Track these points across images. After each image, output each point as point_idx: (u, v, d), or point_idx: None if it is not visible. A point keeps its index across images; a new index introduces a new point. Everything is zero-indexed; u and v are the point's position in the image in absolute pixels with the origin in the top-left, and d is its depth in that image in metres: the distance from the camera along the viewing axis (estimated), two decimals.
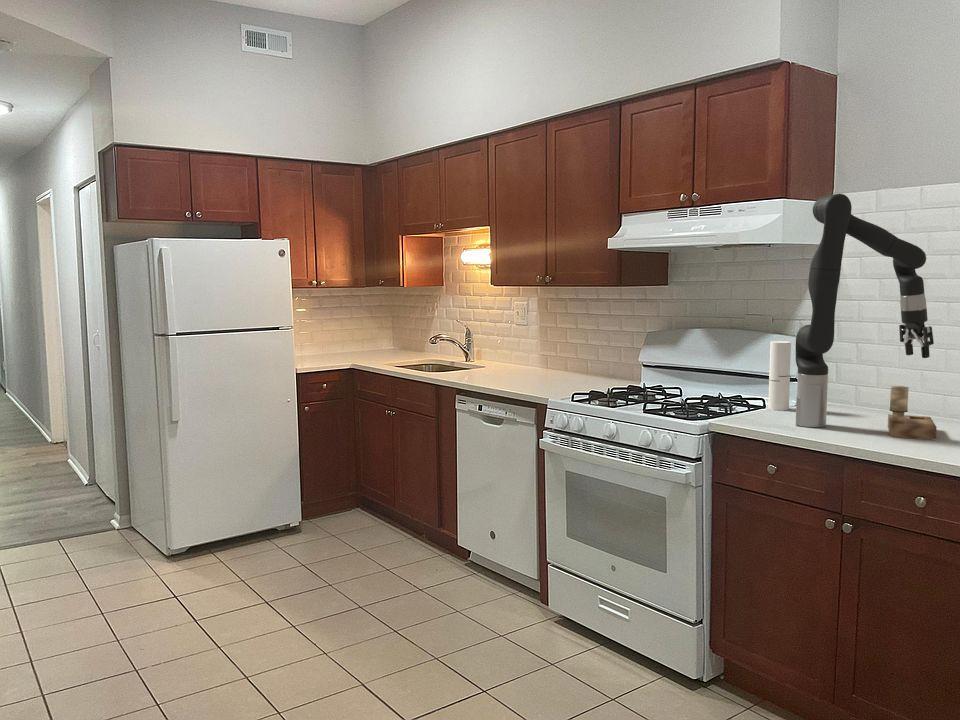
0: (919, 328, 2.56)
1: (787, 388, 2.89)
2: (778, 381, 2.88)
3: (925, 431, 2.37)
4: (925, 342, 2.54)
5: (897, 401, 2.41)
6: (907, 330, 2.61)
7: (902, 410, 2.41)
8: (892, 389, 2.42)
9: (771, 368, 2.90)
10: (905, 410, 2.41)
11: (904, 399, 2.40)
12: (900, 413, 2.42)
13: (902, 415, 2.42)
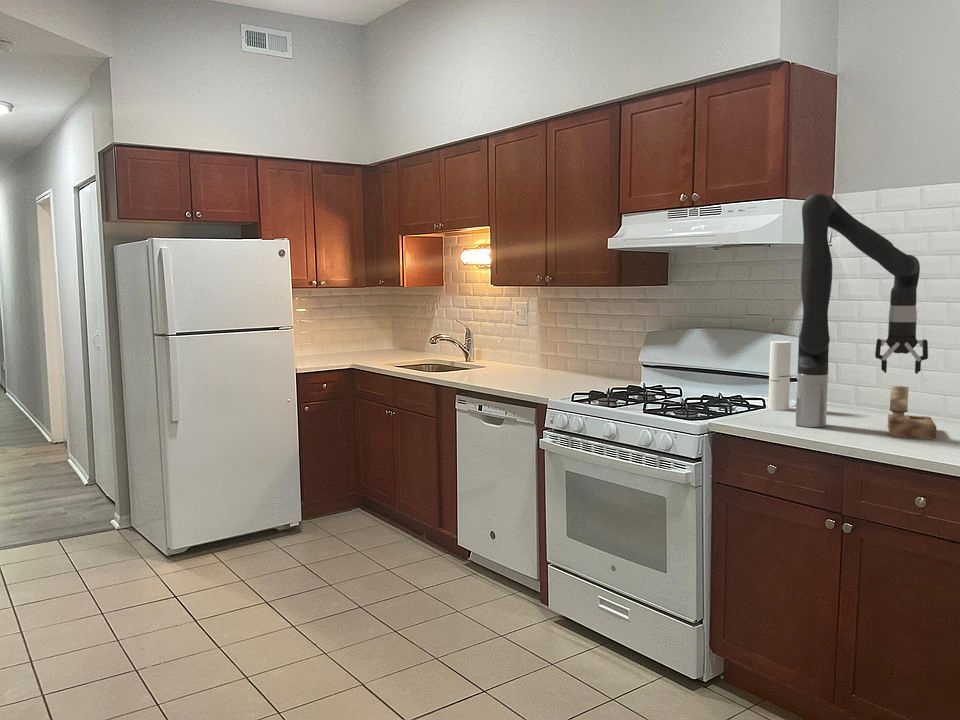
0: None
1: (787, 388, 2.89)
2: (778, 381, 2.88)
3: (925, 431, 2.37)
4: None
5: (897, 401, 2.41)
6: None
7: (902, 410, 2.41)
8: (892, 389, 2.42)
9: (771, 368, 2.90)
10: (905, 410, 2.41)
11: (904, 399, 2.40)
12: (900, 413, 2.42)
13: (902, 415, 2.42)
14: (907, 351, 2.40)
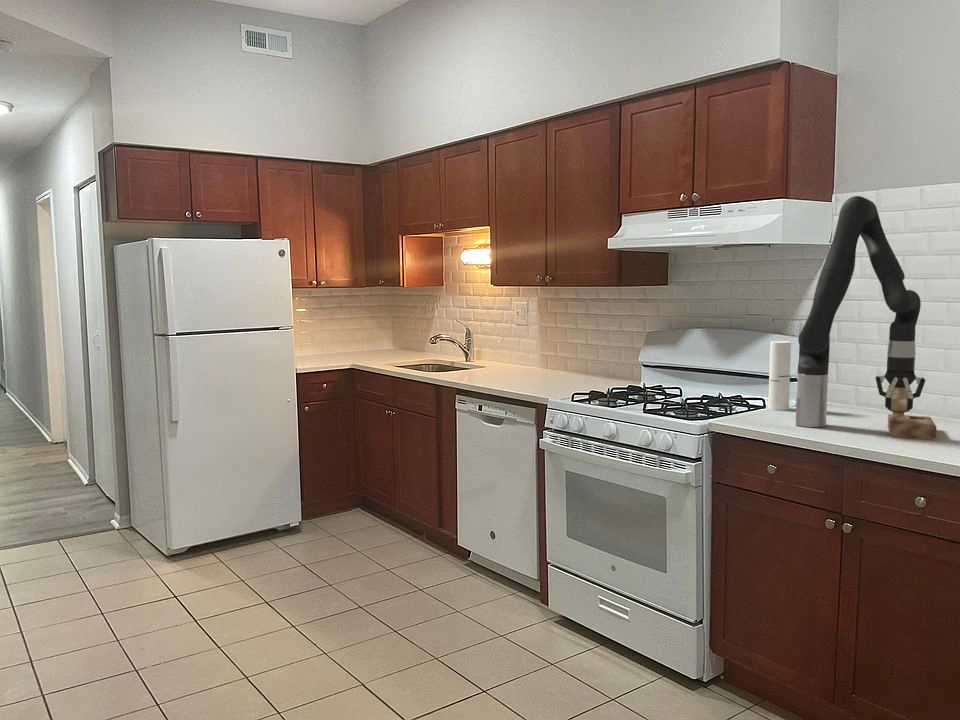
0: None
1: (787, 388, 2.89)
2: (778, 381, 2.88)
3: (925, 431, 2.37)
4: None
5: (897, 401, 2.41)
6: None
7: (902, 410, 2.41)
8: None
9: (771, 368, 2.90)
10: (905, 410, 2.41)
11: (904, 399, 2.40)
12: (900, 413, 2.42)
13: (902, 415, 2.42)
14: (903, 386, 2.41)
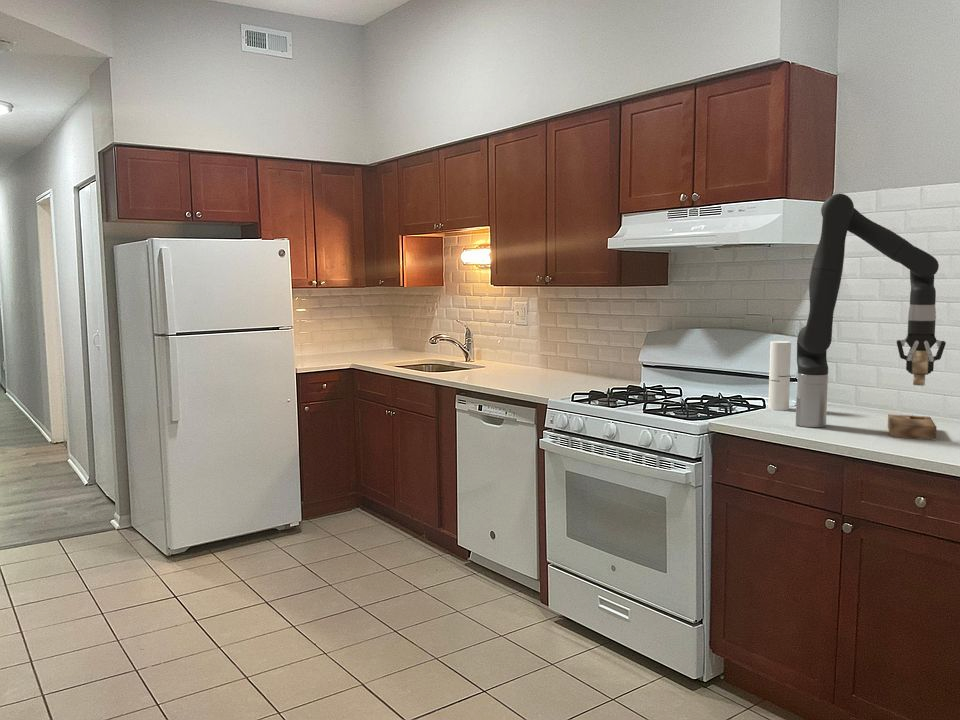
0: None
1: (787, 388, 2.89)
2: (778, 381, 2.88)
3: (925, 431, 2.37)
4: None
5: (918, 363, 2.46)
6: None
7: (923, 373, 2.46)
8: None
9: (771, 368, 2.90)
10: (926, 373, 2.46)
11: (925, 361, 2.46)
12: (921, 376, 2.47)
13: (923, 378, 2.47)
14: (924, 349, 2.46)
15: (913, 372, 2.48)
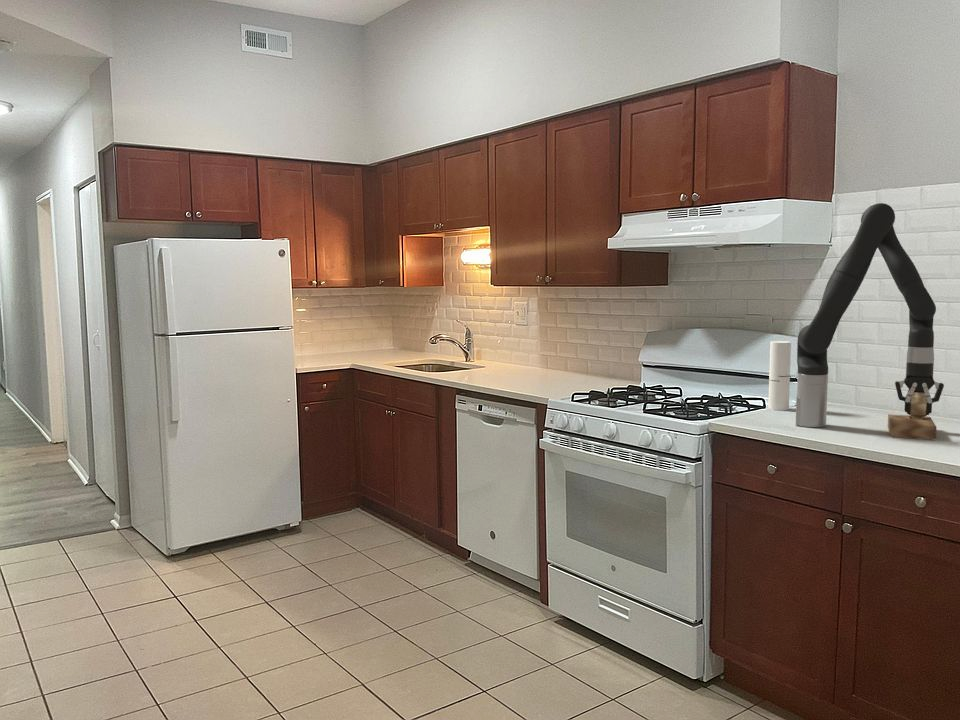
0: None
1: (787, 388, 2.89)
2: (778, 381, 2.88)
3: (925, 431, 2.37)
4: None
5: (917, 405, 2.48)
6: None
7: (921, 414, 2.47)
8: None
9: (771, 368, 2.90)
10: (924, 414, 2.48)
11: (923, 403, 2.47)
12: (919, 417, 2.48)
13: None
14: (922, 391, 2.48)
15: (911, 414, 2.49)
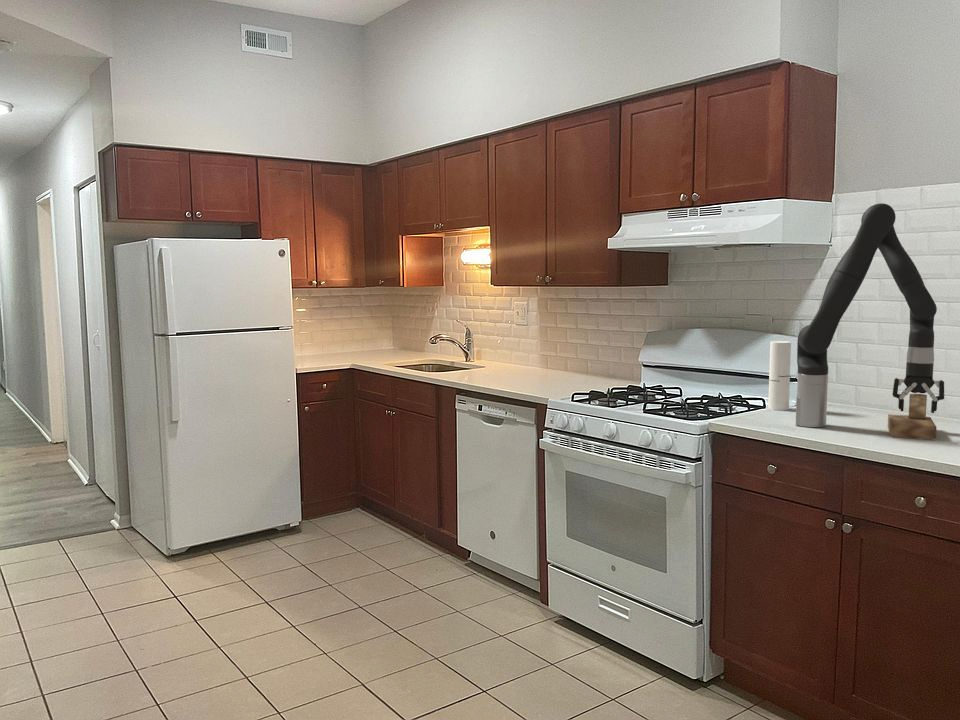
0: None
1: (787, 388, 2.89)
2: (778, 381, 2.88)
3: (925, 431, 2.37)
4: None
5: (916, 408, 2.48)
6: None
7: (921, 417, 2.48)
8: (911, 397, 2.49)
9: (771, 368, 2.90)
10: (924, 417, 2.48)
11: (922, 406, 2.47)
12: None
13: None
14: (924, 391, 2.47)
15: (911, 416, 2.49)
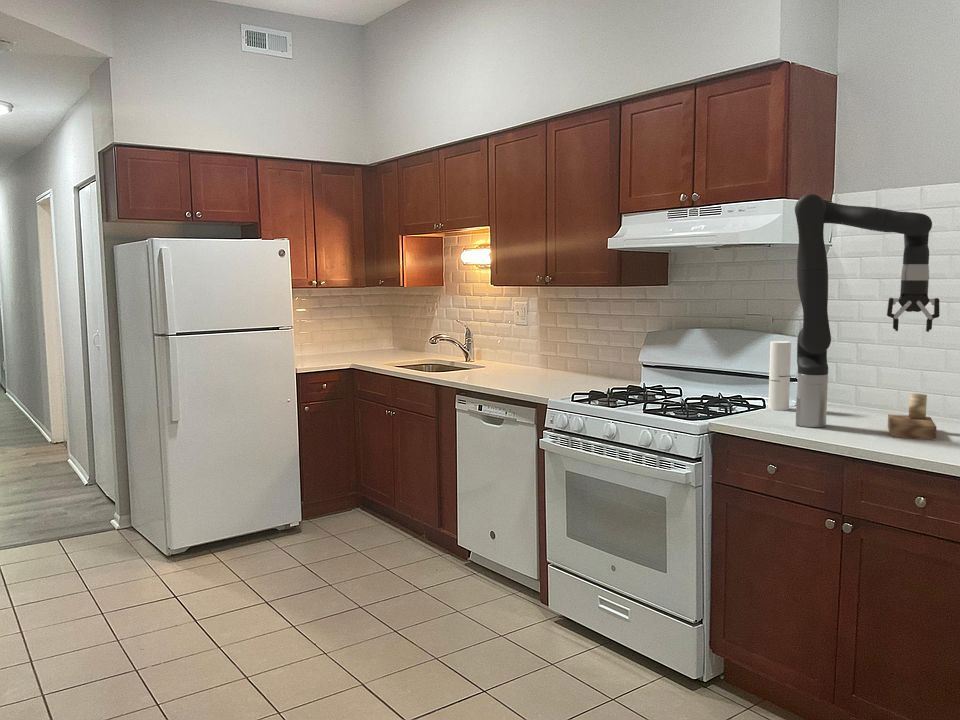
0: None
1: (787, 388, 2.89)
2: (778, 381, 2.88)
3: (925, 431, 2.37)
4: None
5: (916, 408, 2.48)
6: None
7: (921, 417, 2.48)
8: (911, 397, 2.49)
9: (771, 368, 2.90)
10: (924, 417, 2.48)
11: (922, 406, 2.47)
12: None
13: None
14: (919, 309, 2.43)
15: (911, 416, 2.49)
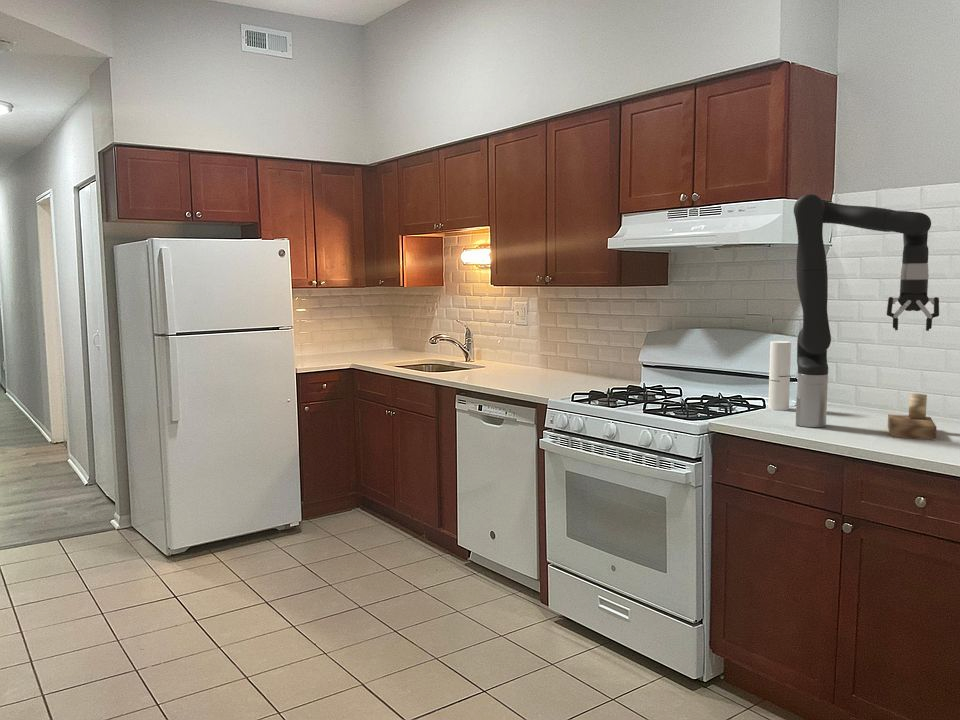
0: None
1: (787, 388, 2.89)
2: (778, 381, 2.88)
3: (925, 431, 2.37)
4: None
5: (916, 408, 2.48)
6: None
7: (921, 417, 2.48)
8: (911, 397, 2.49)
9: (771, 368, 2.90)
10: (924, 417, 2.48)
11: (922, 406, 2.47)
12: None
13: None
14: (918, 308, 2.43)
15: (911, 416, 2.49)
